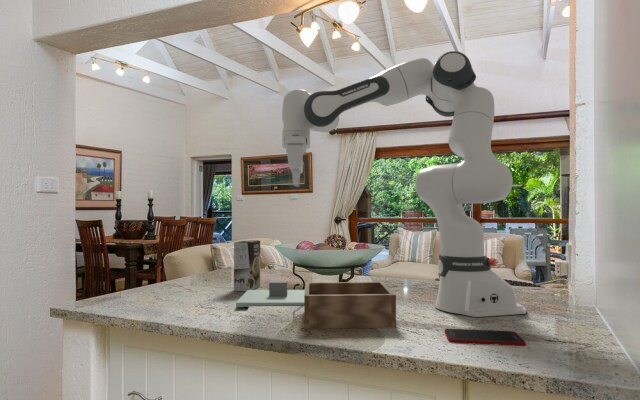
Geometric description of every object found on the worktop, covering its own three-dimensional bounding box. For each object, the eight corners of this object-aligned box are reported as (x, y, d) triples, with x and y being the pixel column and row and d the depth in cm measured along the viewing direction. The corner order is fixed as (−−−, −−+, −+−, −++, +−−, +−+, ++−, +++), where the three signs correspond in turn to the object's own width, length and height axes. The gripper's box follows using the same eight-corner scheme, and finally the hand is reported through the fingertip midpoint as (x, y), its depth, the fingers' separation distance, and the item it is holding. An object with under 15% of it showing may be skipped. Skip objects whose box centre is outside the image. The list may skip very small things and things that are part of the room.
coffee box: (251, 291, 134) (251, 242, 134) (233, 291, 135) (233, 241, 135) (261, 286, 143) (261, 239, 143) (243, 285, 144) (243, 239, 144)
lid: (315, 296, 127) (315, 276, 128) (314, 310, 110) (313, 287, 111) (247, 297, 128) (247, 276, 128) (235, 310, 111) (235, 287, 111)
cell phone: (443, 332, 90) (443, 328, 90) (515, 335, 88) (515, 331, 88) (449, 344, 82) (448, 339, 82) (527, 347, 80) (527, 342, 80)
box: (383, 313, 106) (383, 281, 106) (396, 331, 90) (395, 294, 90) (305, 313, 105) (305, 282, 105) (304, 332, 89) (304, 295, 89)
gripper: (288, 147, 140) (288, 187, 140) (284, 136, 120) (284, 184, 120) (306, 147, 141) (306, 187, 140) (305, 136, 120) (305, 183, 120)
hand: (296, 185), depth 130 cm, fingers open, 8 cm apart
